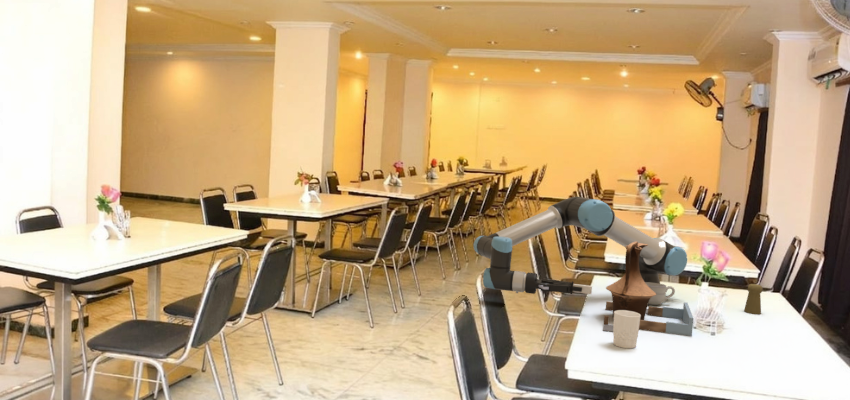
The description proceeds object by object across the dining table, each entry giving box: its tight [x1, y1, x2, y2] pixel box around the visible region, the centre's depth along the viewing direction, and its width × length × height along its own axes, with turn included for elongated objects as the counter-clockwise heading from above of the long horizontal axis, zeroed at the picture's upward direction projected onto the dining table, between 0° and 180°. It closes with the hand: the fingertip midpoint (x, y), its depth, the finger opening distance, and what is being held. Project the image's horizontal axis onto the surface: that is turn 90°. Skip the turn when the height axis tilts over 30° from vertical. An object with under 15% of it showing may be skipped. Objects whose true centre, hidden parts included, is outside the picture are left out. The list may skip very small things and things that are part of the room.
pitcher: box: [605, 241, 656, 320], centre depth 249 cm, size 18×17×28 cm
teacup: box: [645, 282, 676, 306], centre depth 278 cm, size 14×11×8 cm
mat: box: [602, 323, 614, 333], centre depth 235 cm, size 10×8×1 cm
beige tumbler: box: [612, 310, 641, 349], centre depth 217 cm, size 8×8×10 cm
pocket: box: [661, 301, 694, 337], centre depth 246 cm, size 8×24×6 cm, turn 164°
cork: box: [743, 283, 763, 315], centre depth 274 cm, size 6×6×11 cm
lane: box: [603, 300, 666, 334], centre depth 249 cm, size 20×24×3 cm
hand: (591, 290), depth 253 cm, fingers closed
